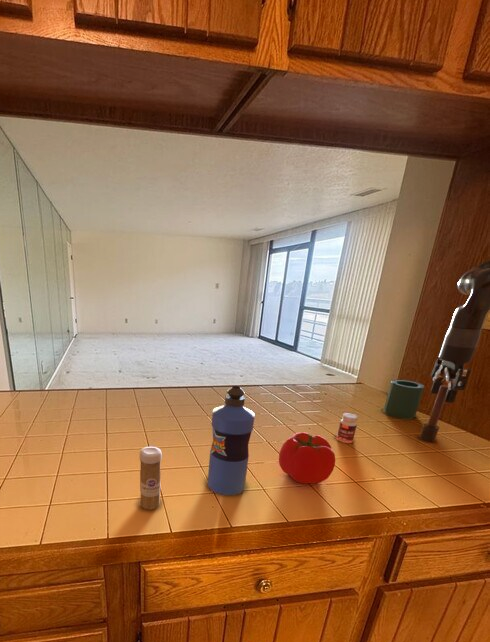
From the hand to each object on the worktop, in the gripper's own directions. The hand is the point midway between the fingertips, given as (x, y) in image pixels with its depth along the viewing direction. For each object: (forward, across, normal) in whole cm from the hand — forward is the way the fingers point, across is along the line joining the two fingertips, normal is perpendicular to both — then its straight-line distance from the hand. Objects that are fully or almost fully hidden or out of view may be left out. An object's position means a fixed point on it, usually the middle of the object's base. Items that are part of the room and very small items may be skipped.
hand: (441, 397), depth 105 cm
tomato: (+15, -33, +42) cm, 55 cm away
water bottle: (+15, -42, +61) cm, 75 cm away
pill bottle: (+15, -7, +26) cm, 31 cm away
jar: (+14, +23, 0) cm, 27 cm away
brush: (+14, 0, 0) cm, 14 cm away
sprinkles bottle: (+15, -54, +77) cm, 95 cm away
